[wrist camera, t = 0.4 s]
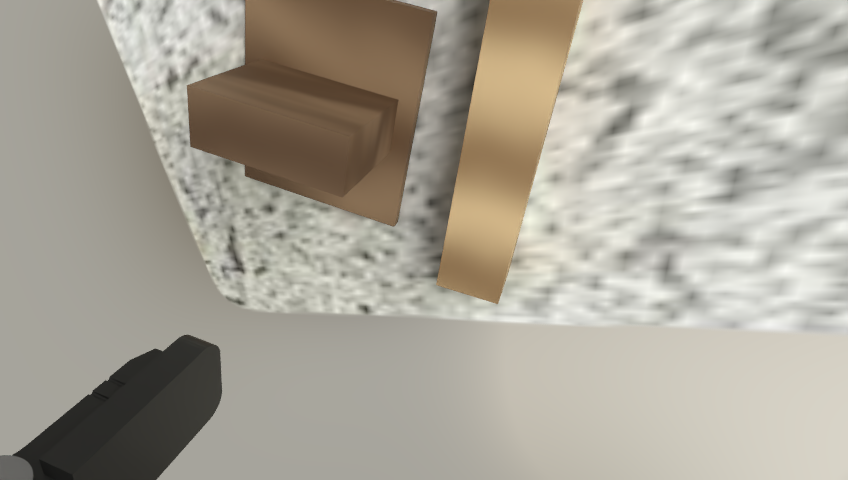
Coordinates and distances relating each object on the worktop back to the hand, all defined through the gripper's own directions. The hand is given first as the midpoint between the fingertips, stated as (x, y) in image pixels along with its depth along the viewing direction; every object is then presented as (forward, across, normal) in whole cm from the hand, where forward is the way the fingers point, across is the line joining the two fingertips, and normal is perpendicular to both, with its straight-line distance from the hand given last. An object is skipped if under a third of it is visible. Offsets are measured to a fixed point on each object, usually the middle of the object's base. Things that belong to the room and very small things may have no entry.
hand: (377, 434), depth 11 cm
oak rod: (+20, +1, -1) cm, 20 cm away
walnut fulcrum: (+19, +11, 0) cm, 22 cm away
